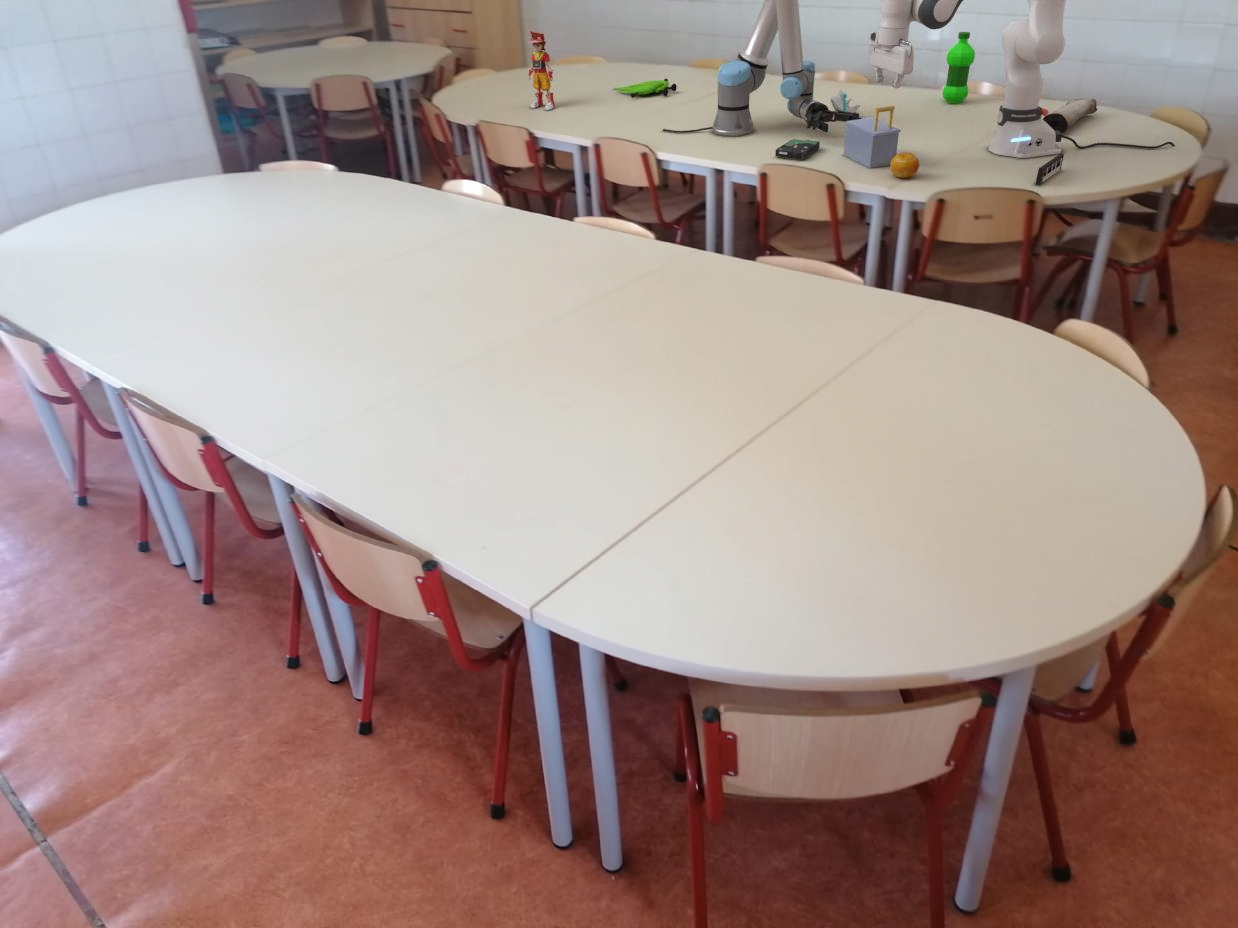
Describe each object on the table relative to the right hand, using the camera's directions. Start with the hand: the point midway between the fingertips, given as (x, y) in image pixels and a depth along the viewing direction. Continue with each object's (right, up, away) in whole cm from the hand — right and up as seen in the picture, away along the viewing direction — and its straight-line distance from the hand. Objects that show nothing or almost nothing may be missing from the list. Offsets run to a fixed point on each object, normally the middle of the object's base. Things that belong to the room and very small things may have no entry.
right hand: (887, 85), depth 281 cm
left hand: (-6, -2, +29) cm, 30 cm away
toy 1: (-117, +34, +102) cm, 159 cm away
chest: (-1, -17, +19) cm, 25 cm away
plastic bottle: (+48, +24, +74) cm, 92 cm away
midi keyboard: (+47, -31, -6) cm, 57 cm away
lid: (-1, -9, +13) cm, 15 cm away
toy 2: (-75, +46, +116) cm, 146 cm away
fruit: (+6, -28, +2) cm, 29 cm away
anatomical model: (+3, +15, +65) cm, 66 cm away
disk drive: (-23, -12, +28) cm, 38 cm away
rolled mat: (+77, +3, +41) cm, 87 cm away
